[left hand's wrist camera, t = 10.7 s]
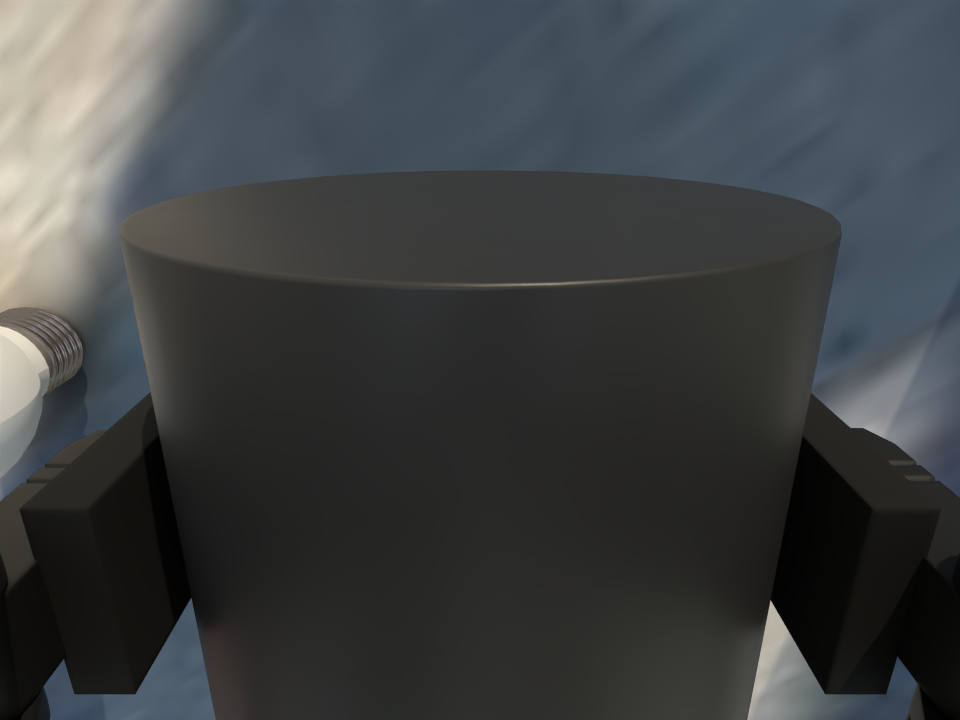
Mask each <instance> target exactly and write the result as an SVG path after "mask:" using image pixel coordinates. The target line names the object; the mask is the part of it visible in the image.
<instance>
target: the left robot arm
mask: <svg viewBox="0 0 960 720" xmlns="http://www.w3.org/2000/svg"><path fill="white" fill-rule="evenodd" d="M934 478H935V477H934V476H933V475H932V474H930V473H929V472H928V471H927V470H925V469H924V468H923V467H922V466H921V465H916V461H915V460H913V459H912V458H911V457H910V456H909V455H907V454H906V453H905V452H904V451H903V450H901V449H900V448H899V447H898V446H897V445H895V444H894V443H892V442H890V441H888V440H886V439H884V438H882V437H880V436H878V435H876V434H874V433H872V432H870V431H868V430H866V429H864V428H850V427H849V426H848V425H846V424H845V423H844V422H843V421H842V420H841V419H840V418H839V417H837V416H836V415H835V414H834V413H833V412H832V411H831V410H830V409H828V408H827V407H826V406H825V405H824V404H823V403H822V402H821V401H819V400H818V399H817V398H816V397H815V396H814V395H813V394H812V393H811V394H810V399H809V405H808V410H807V415H806V420H805V425H804V430H803V435H802V441H801V446H800V451H799V456H798V461H797V466H796V471H795V476H794V482H793V487H792V492H791V497H790V502H789V507H788V512H787V517H786V523H785V528H784V533H783V538H782V543H781V548H780V553H779V559H778V564H777V569H776V574H775V579H774V584H773V589H772V594H771V601H772V603H773V605H774V607H775V608H776V610H777V612H778V613H779V615H780V617H781V619H782V620H783V622H784V624H785V626H786V627H787V629H788V631H789V632H790V634H791V636H792V638H793V639H794V641H795V643H796V645H797V646H798V648H799V650H800V651H801V653H802V655H803V657H804V658H805V660H806V662H807V664H808V665H809V667H810V669H811V670H812V672H813V674H814V676H815V677H816V679H817V681H818V683H819V684H820V686H821V688H822V689H823V691H824V693H825V694H886V692H887V689H888V686H889V682H890V679H891V676H892V672H893V669H894V666H895V662H896V659H897V656H898V657H899V659H900V660H901V661H902V663H903V664H904V665H905V667H906V668H907V669H908V671H909V672H910V673H911V675H912V676H913V678H914V679H915V680H916V682H917V683H918V684H917V687H916V690H915V693H914V696H913V699H912V702H911V706H910V709H909V712H908V715H907V718H906V720H960V498H959V497H958V496H957V495H956V494H954V493H953V492H952V491H951V490H950V489H948V488H947V487H946V486H945V485H944V484H942V483H941V482H940V481H935V479H934ZM190 599H191V592H190V587H189V582H188V577H187V572H186V567H185V562H184V557H183V552H182V547H181V542H180V537H179V532H178V527H177V522H176V517H175V512H174V507H173V502H172V497H171V491H170V486H169V481H168V476H167V471H166V466H165V461H164V456H163V451H162V446H161V441H160V436H159V431H158V426H157V421H156V416H155V411H154V406H153V401H152V396H151V392H150V393H149V394H148V395H147V396H146V397H144V398H143V399H142V400H141V401H140V402H139V403H138V404H137V405H135V406H134V407H133V408H132V409H131V410H130V411H129V412H128V413H126V414H125V415H124V416H123V417H122V418H121V419H120V420H119V421H117V422H116V423H115V424H114V425H113V426H112V427H111V428H110V429H108V430H98V431H96V432H94V433H92V434H90V435H88V436H86V437H84V438H82V439H80V440H78V441H76V442H74V443H72V444H70V445H68V446H66V447H65V448H64V449H63V450H61V451H60V452H59V453H58V454H57V455H55V456H54V457H53V458H52V459H51V460H49V461H48V462H47V463H46V464H45V468H40V469H39V470H37V471H36V472H35V473H34V474H33V475H32V476H30V477H29V478H28V479H27V483H22V484H21V485H20V486H18V487H17V488H16V489H15V490H14V491H12V492H11V493H10V494H9V495H8V496H7V497H5V498H4V499H3V500H2V501H1V502H0V720H50V710H49V704H48V699H47V696H46V693H45V690H44V687H43V686H44V685H45V683H46V682H47V681H48V679H49V678H50V677H51V675H52V674H53V672H54V671H55V670H56V668H57V667H58V666H59V664H60V663H61V662H62V660H63V659H64V660H65V664H66V667H67V671H68V674H69V677H70V681H71V684H72V687H73V691H74V694H136V692H137V690H138V688H139V687H140V685H141V683H142V682H143V680H144V678H145V676H146V675H147V673H148V671H149V669H150V668H151V666H152V664H153V663H154V661H155V659H156V657H157V656H158V654H159V652H160V651H161V649H162V647H163V645H164V644H165V642H166V640H167V638H168V637H169V635H170V633H171V632H172V630H173V628H174V626H175V625H176V623H177V621H178V619H179V618H180V616H181V614H182V613H183V611H184V609H185V607H186V606H187V604H188V602H189V600H190Z"/></svg>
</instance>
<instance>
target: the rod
mask: <svg viewBox="0 0 960 720" xmlns="http://www.w3.org/2000/svg"><path fill="white" fill-rule="evenodd" d="M841 235H842V234H841V225H840V222H839V221H838V220H837V219H836V218H835V217H834V216H833V215H831V214H830V213H828V212H826V211H824V210H822V209H820V208H818V207H816V206H813V205H810V204H807V203H805V202H802V201H799V200H795V199H792V198H788V197H784V196H780V195H776V194H771V193H766V192H762V191H757V190H751V189H745V188H739V187H733V186H726V185H719V184H712V183H704V182H695V181H686V180H677V179H666V178H656V177H643V176H629V175H614V174H597V173H574V172H544V171H427V172H397V173H375V174H357V175H341V176H327V177H315V178H303V179H293V180H283V181H274V182H266V183H257V184H250V185H243V186H236V187H229V188H223V189H217V190H211V191H206V192H201V193H196V194H191V195H187V196H182V197H178V198H175V199H171V200H167V201H164V202H160V203H158V204H155V205H152V206H150V207H147V208H144V209H142V210H140V211H138V212H136V213H135V214H133V215H131V216H129V217H128V218H127V219H126V220H125V221H124V222H123V223H122V224H121V228H120V240H121V245H122V250H123V255H124V260H125V265H126V270H127V275H128V280H129V285H130V290H131V295H132V300H133V306H134V311H135V316H136V321H137V326H138V331H139V336H140V341H141V346H142V351H143V356H144V361H145V366H146V371H147V376H148V381H149V386H150V391H151V396H152V401H153V406H154V411H155V416H156V421H157V426H158V431H159V436H160V441H161V446H162V451H163V456H164V461H165V466H166V471H167V476H168V481H169V486H170V491H171V497H172V502H173V507H174V512H175V517H176V522H177V527H178V532H179V537H180V542H181V547H182V552H183V557H184V562H185V567H186V572H187V577H188V582H189V587H190V592H191V597H192V602H193V607H194V612H195V617H196V622H197V627H198V632H199V637H200V642H201V647H202V652H203V657H204V662H205V667H206V672H207V677H208V682H209V688H210V693H211V698H212V703H213V708H214V713H215V718H216V720H747V718H748V712H749V707H750V702H751V697H752V692H753V687H754V682H755V677H756V671H757V666H758V661H759V656H760V651H761V646H762V641H763V635H764V630H765V625H766V620H767V615H768V610H769V605H770V600H771V594H772V589H773V584H774V579H775V574H776V569H777V564H778V559H779V553H780V548H781V543H782V538H783V533H784V528H785V523H786V517H787V512H788V507H789V502H790V497H791V492H792V487H793V482H794V476H795V471H796V466H797V461H798V456H799V451H800V446H801V441H802V435H803V430H804V425H805V420H806V415H807V410H808V405H809V399H810V394H811V389H812V384H813V379H814V374H815V369H816V364H817V358H818V353H819V348H820V343H821V338H822V333H823V328H824V323H825V317H826V312H827V307H828V302H829V297H830V292H831V287H832V281H833V276H834V271H835V266H836V261H837V256H838V251H839V246H840V240H841Z"/></svg>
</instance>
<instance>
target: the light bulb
mask: <svg viewBox="0 0 960 720" xmlns="http://www.w3.org/2000/svg"><path fill="white" fill-rule="evenodd" d="M82 361H83V348H82V345H81V342H80V340H79V338H78V336H77V335H76V333H75V332H74V330H73V329H72V328H71V327H70V326H69V325H68V324H67V323H66V322H64V321H63V320H61V319H60V318H58V317H57V316H55V315H53V314H51V313H48V312H45V311H43V310H39V309H33V308H14V309H10V310H7V311H4V312H2V313H0V478H1V477H2V476H4V475H5V474H6V473H7V472H8V471H9V470H10V469H11V468H12V467H13V466H14V465H15V464H16V463H17V462H18V461H19V460H20V458H21V456H22V455H23V453H24V452H25V450H26V449H27V447H28V446H29V444H30V443H31V441H32V439H33V438H34V436H35V433H36V430H37V427H38V424H39V420H40V417H41V414H42V403H43V398H42V397H44V396H45V395H46V394H48V393H50V392H51V391H52V390H54V389H55V388H57V387H58V386H60V385H61V384H62V383H64V382H66V381H67V380H68V379H70V378H71V377H73V376H74V375H75V374H76V373H77V372H78V370H79V369H80V367H81V364H82Z"/></svg>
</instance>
